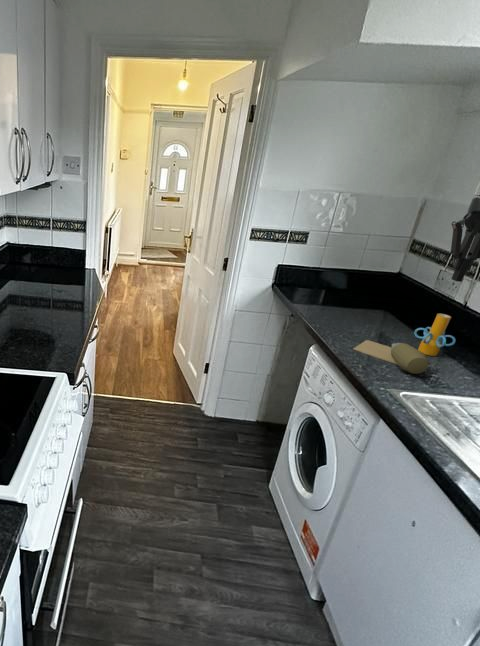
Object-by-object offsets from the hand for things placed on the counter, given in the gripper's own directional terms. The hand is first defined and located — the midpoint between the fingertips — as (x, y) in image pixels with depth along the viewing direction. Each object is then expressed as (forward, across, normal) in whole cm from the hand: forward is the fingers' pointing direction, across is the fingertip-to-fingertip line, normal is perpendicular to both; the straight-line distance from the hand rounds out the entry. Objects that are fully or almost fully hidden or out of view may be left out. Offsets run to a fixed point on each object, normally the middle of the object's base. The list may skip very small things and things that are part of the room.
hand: (456, 280), depth 124 cm
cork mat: (+32, +4, -15) cm, 36 cm away
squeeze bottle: (+28, +2, +2) cm, 28 cm away
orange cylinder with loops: (+33, -12, -22) cm, 41 cm away
